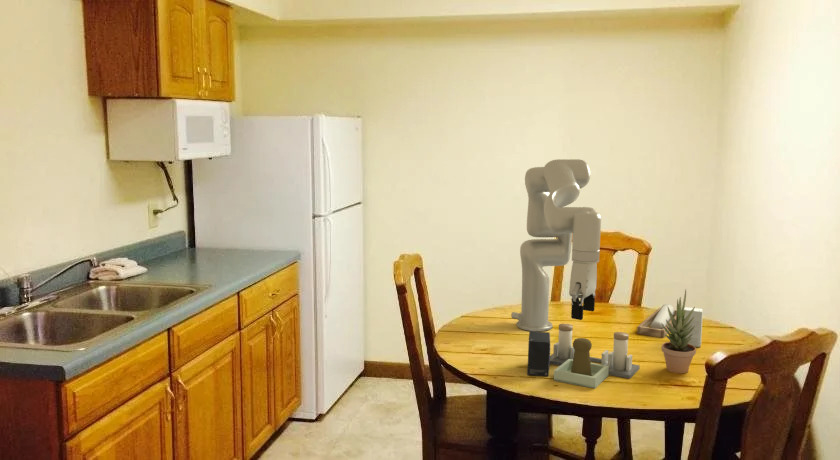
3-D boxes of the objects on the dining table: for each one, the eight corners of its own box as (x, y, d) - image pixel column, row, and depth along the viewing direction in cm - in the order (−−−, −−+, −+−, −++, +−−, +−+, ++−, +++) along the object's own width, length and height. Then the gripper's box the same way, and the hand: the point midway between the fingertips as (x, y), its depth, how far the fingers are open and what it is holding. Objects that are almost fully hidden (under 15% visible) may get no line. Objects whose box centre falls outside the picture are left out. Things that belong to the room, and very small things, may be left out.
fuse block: (544, 362, 222) (545, 327, 220) (556, 354, 231) (557, 319, 229) (630, 378, 209) (631, 340, 207) (639, 368, 217) (641, 332, 215)
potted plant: (682, 377, 209) (686, 294, 206) (654, 368, 217) (658, 287, 213) (702, 371, 215) (707, 289, 212) (674, 362, 223) (678, 283, 219)
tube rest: (637, 333, 253) (637, 326, 253) (658, 314, 278) (658, 307, 278) (663, 337, 248) (664, 330, 248) (683, 317, 273) (683, 311, 273)
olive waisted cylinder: (567, 372, 212) (568, 336, 210) (587, 372, 212) (589, 335, 211) (573, 380, 206) (575, 342, 204) (594, 379, 206) (596, 341, 205)
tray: (553, 380, 207) (553, 370, 207) (568, 368, 217) (568, 358, 217) (594, 388, 201) (595, 378, 200) (608, 375, 211) (608, 365, 211)
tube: (667, 324, 250) (676, 307, 272) (652, 318, 252) (663, 301, 274) (661, 338, 252) (671, 320, 274) (646, 331, 254) (657, 314, 276)
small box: (549, 377, 210) (550, 341, 209) (526, 375, 211) (527, 340, 210) (549, 365, 220) (550, 331, 219) (527, 363, 222) (528, 330, 220)
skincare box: (701, 343, 241) (703, 308, 240) (700, 347, 238) (702, 311, 236) (681, 341, 244) (683, 306, 242) (680, 345, 240) (682, 309, 238)
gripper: (583, 249, 213) (580, 305, 216) (561, 259, 198) (559, 320, 201) (608, 251, 209) (605, 309, 212) (588, 263, 195) (585, 324, 198)
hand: (582, 314), depth 207 cm, fingers open, 9 cm apart
